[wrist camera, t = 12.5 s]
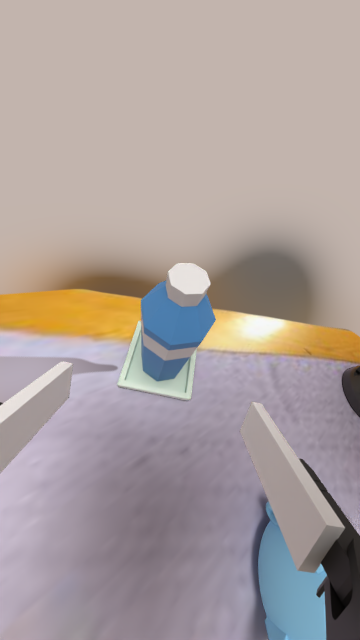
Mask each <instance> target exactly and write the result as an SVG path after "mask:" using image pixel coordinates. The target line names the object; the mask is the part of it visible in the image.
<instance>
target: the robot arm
mask: <svg viewBox="0 0 360 640" xmlns="http://www.w3.org/2000/svg"><path fill="white" fill-rule="evenodd" d="M72 368H73V364H72V363H68V362H63V361H62V362H60V363H59V364H58V365H56V366H55V367H53V368H52V369H50V370H49V371H48V372H46V373H45V374H44V375H42V376H41V377H39V378H38V379H37V380H35V381H34V382H32V383H31V384H30V385H28V386H27V387H25V388H24V389H23V390H22V391H20V392H19V393H17V394H16V395H15V396H13V397H12V398H10V399H9V400H7V401H6V402H5V403H0V473H1V472H2V471H3V470H4V469H5V468H6V467H7V465H8V464H9V463H10V462H11V461H12V460H13V459H14V458H15V457H16V456H17V454H18V453H19V452H20V451H21V450H22V449H23V448H24V447H25V446H26V444H27V443H28V442H29V441H30V440H31V439H32V438H33V437H34V436H35V435H36V433H37V432H38V431H39V430H40V429H41V428H42V427H43V426H44V425H45V423H46V422H47V421H48V420H49V419H50V418H51V417H52V416H53V415H54V414H55V412H56V411H57V410H58V409H59V408H60V407H61V406H62V405H63V404H64V402H65V401H66V400H67V399H68V398H69V394H70V386H71V377H72ZM342 381H343V389H344V392H345V395H346V397H347V399H348V401H349V403H350V405H351V406H352V408H353V409H354V410H355V412H356V413H357V414H358V415H359V416H360V366H356V367H352V368H349V369H347V370H346V371H345V373H344V375H343V380H342ZM240 433H241V435H242V438H243V440H244V442H245V445H246V447H247V450H248V452H249V455H250V457H251V459H252V462H253V464H254V467H255V469H256V471H257V474H258V476H259V479H260V481H261V484H262V486H263V488H264V491H265V493H266V496H267V498H268V501H269V503H270V505H271V508H272V510H273V513H274V515H275V518H276V520H277V522H278V525H279V527H280V530H281V532H282V535H283V537H284V539H285V542H286V544H287V547H288V549H289V552H290V554H291V556H292V559H293V561H294V564H295V566H296V569H297V571H303V572H310V573H315V572H316V570H317V569H318V567H319V566H320V564H322V566H323V568H324V570H325V572H326V574H327V576H326V577H325V579H324V580H323V582H322V583H321V584H320V586H319V587H318V589H317V593H316V595H317V596H318V597H319V598H320V597H321V595H322V594H323V593H324V592H325V616H326V640H360V536H359V534H358V533H357V532H356V530H355V529H354V527H353V526H352V525H351V523H350V522H349V520H348V519H347V518H346V516H345V515H344V513H343V512H342V511H341V509H340V508H339V506H338V505H337V503H336V502H335V501H334V499H333V498H332V496H331V495H330V494H329V493H328V492H327V489H326V488H325V487H324V485H323V484H322V483H321V482H320V479H319V478H318V477H317V475H316V474H315V472H314V471H313V470H312V469H311V468H310V467H309V466H308V464H307V463H306V462H305V461H304V460H303V459H299V458H298V457H297V456H296V454H295V453H294V451H293V450H292V448H291V447H290V445H289V444H288V442H287V441H286V439H285V438H284V436H283V435H282V433H281V432H280V430H279V429H278V428H277V426H276V425H275V423H274V422H273V420H272V419H271V417H270V416H269V414H268V413H267V411H266V410H265V408H264V407H263V405H262V404H261V403H256V402H251V405H250V407H249V410H248V412H247V415H246V417H245V420H244V422H243V424H242V427H241V429H240Z"/></svg>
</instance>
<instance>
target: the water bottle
mask: <svg viewBox="0 0 360 640" xmlns="http://www.w3.org/2000/svg"><path fill="white" fill-rule="evenodd" d="M209 286H210V281H209V278H208V276H207V272H206V271H204V270H203V269H201V268H200V267H198V266H196V265H195V264H193V263H177V264H176V265H175V266H174V267H173V268H172V269H171V270H169V271H168V275H167V280H166V281H164V282H161V283H159V284H158V285H157V286H156V287H154V288H153V290H151V291H150V292H149V293H148V294H147V295H146V296H145V297H144V298H143V299H142V300H141V355H142V365H143V371H144V372H145V373H146V374H148V375H149V376H150V377H152V378H153V379H154V380H156V381H157V382H158V381H164V380H169V379H174V378H175V377H176V376H177V374H178V373H179V372H180V370H181V369H182V368H183V366H184V365H185V363H186V362H187V361H188V359H189V358H190V357H191V355H192V354H193V353H194V351H195V350H196V349H197V347H198V346H199V345H200V343H201V342H202V340H203V339H204V337H205V336H206V334H207V333H208V331H209V330H210V328H211V327H212V325H213V323H214V322H215V320H216V319H215V316H214V313H213V311H212V308H211V305H210V302H209V299H208V296H207V295H206V292H207V289H208V288H209Z"/></svg>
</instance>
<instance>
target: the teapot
mask: <svg viewBox="0 0 360 640" xmlns="http://www.w3.org/2000/svg"><path fill="white" fill-rule="evenodd" d="M266 511H267V514H268V516H269V518H270V520H271V521H270V522H269V523H268V525H267V527H266V529H265V531H264V534H263V536H262V540H261V544H260V549H259V558H258V576H259V586H260V593H261V597H262V602H263V606H264V609H265V613H266V616H267V617H266V619H265V625H266V630H267V634H268V639H269V640H326V616H325V592H324V593H323V594H322V595H321V597H320V598H319V597H318V596H317V595H316V593H317V589H318V587H319V586H320V584H321V583H322V582H323V580H324V579H325V577H326V576H327V574H326V572H325V570H324V568H323V566H322V564H320V566H319V567H318V569H317V570H316V572H315V573H310V572H303V571H297V569H296V566H295V564H294V561H293V559H292V556H291V554H290V552H289V549H288V547H287V544H286V542H285V539H284V537H283V535H282V532H281V530H280V527H279V525H278V522H277V520H276V518H275V515H274V513H273V510H272V508H271V505H270V503H269V501H268V502H267V504H266Z"/></svg>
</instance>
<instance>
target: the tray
mask: <svg viewBox="0 0 360 640" xmlns="http://www.w3.org/2000/svg"><path fill="white" fill-rule="evenodd" d="M196 350H197V349H196ZM196 350H195V351H194V353H193V354H192V355H191V357H190V358H189V359H188V361H187V362H186V363H185V365H184V366H183V368H182V369H181V370H180V372H179V373H178V374H177V376H176V377H175V378H174V379H169V380H164V381H158V382H157V381H156V380H154V379H153V378H152V377H150V376H149V375H148V374H146V373H145V372H144V371H143V365H142V355H141V321H138V324H137V327H136V330H135V333H134V336H133V339H132V342H131V345H130V348H129V351H128V354H127V357H126V360H125V363H124V366H123V369H122V372H121V375H120V378H119V380H118V383H117V385H118V387H121V388H126V389H131V390H136V391H141V392H146V393H151V394H156V395H161V396H166V397H171V398H176V399H181V400H186V401H189V400H191V394H192V385H193V376H194V368H195V359H196Z"/></svg>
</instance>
